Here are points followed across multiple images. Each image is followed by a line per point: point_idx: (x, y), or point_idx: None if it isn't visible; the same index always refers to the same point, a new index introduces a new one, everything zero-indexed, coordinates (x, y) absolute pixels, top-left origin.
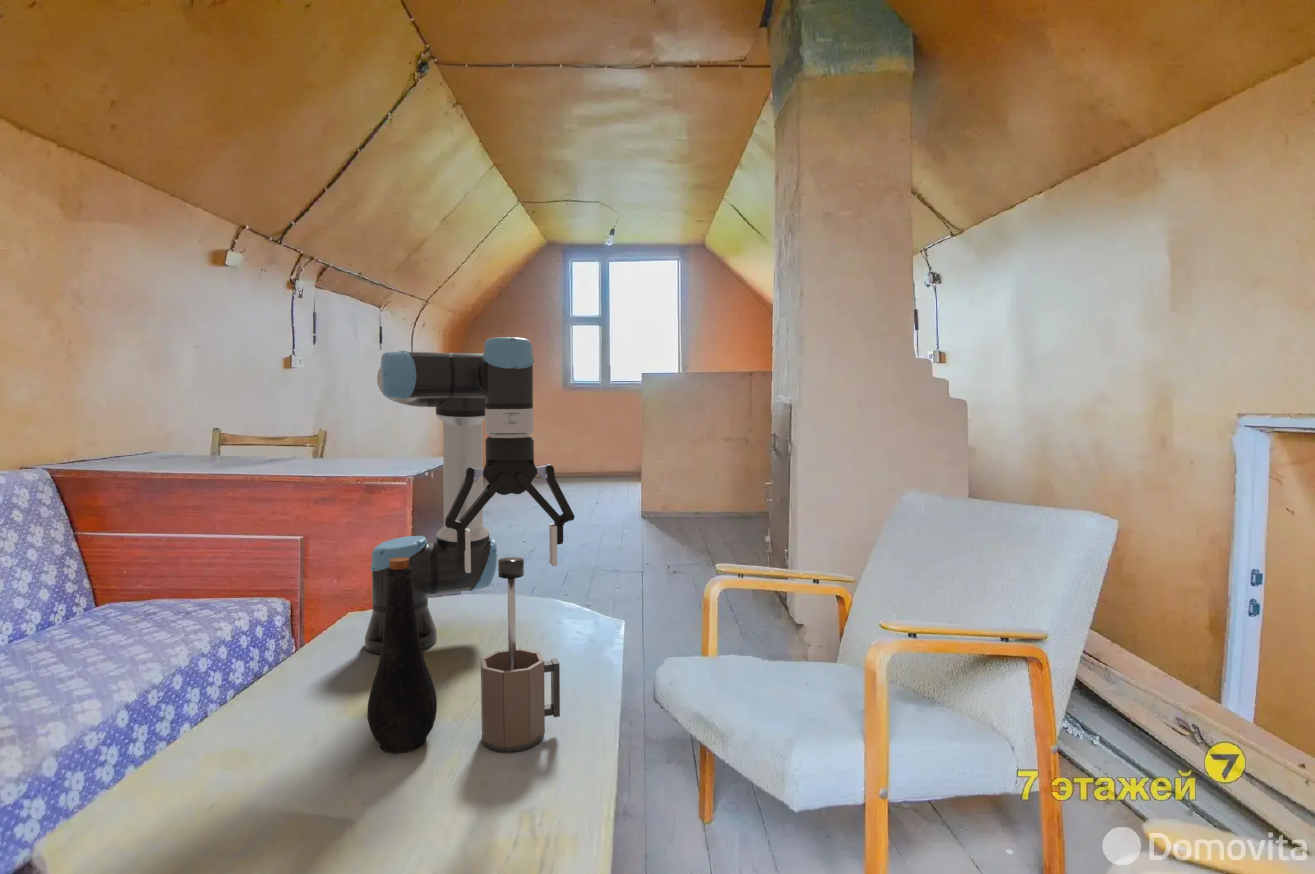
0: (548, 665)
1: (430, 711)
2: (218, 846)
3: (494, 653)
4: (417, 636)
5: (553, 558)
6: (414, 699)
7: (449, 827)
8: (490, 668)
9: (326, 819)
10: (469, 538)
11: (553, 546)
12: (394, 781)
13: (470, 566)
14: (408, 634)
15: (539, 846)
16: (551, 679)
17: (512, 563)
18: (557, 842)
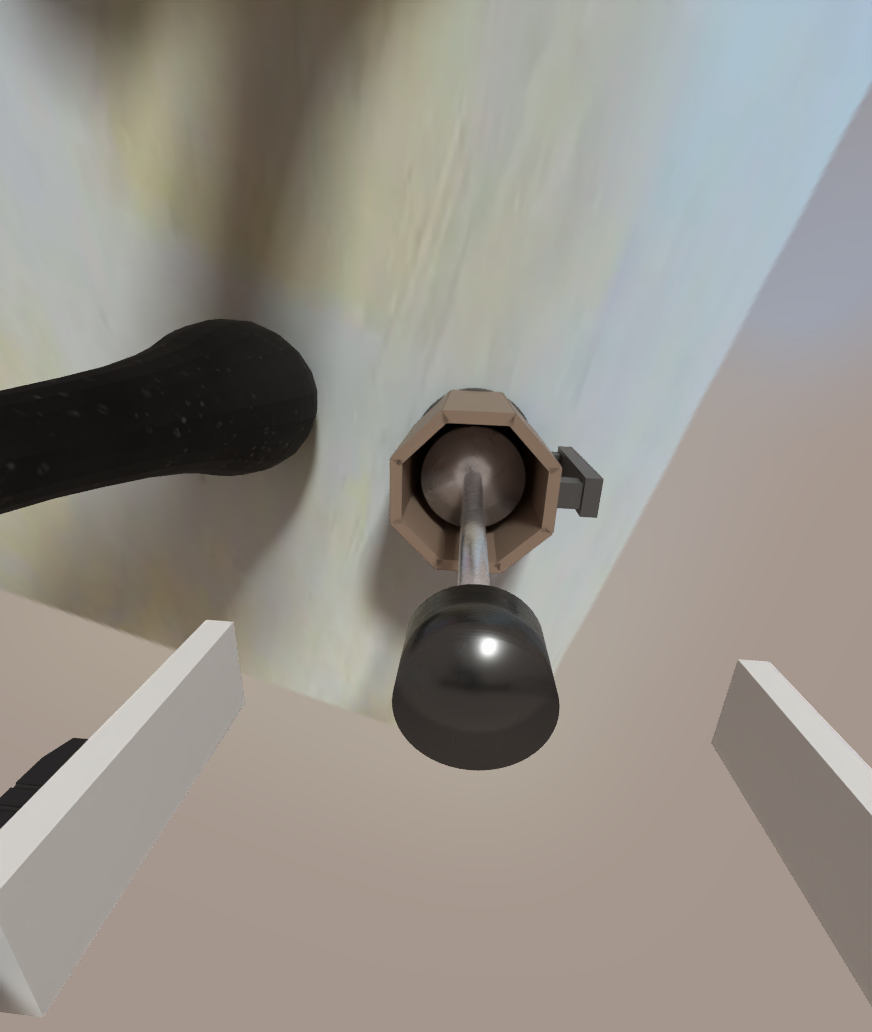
0: (567, 508)
1: (298, 445)
2: (84, 591)
3: (433, 426)
4: (175, 445)
5: (742, 786)
6: (252, 471)
7: (351, 652)
8: (408, 531)
9: (196, 582)
10: (92, 928)
11: (797, 873)
12: (271, 522)
13: (225, 729)
14: (140, 477)
15: None
16: (572, 471)
17: (468, 767)
18: None
